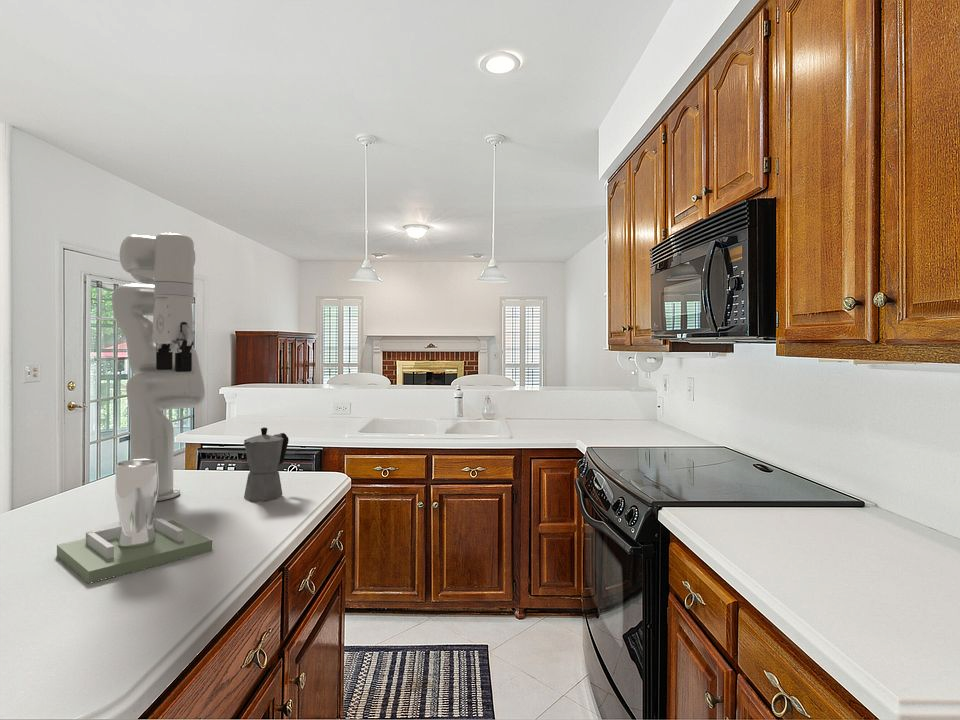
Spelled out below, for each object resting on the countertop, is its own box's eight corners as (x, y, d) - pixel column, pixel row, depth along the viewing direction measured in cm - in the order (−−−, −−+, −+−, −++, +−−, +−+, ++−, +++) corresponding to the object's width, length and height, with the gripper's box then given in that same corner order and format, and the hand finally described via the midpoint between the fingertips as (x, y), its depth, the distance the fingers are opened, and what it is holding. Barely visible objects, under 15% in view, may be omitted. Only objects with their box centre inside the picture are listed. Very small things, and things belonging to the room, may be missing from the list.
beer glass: (137, 550, 100) (138, 467, 100) (104, 546, 102) (105, 465, 101) (166, 537, 107) (167, 459, 107) (135, 534, 109) (136, 457, 108)
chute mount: (56, 555, 102) (56, 534, 102) (172, 529, 118) (172, 510, 118) (88, 583, 91) (88, 559, 91) (212, 550, 106) (212, 529, 106)
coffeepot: (259, 505, 136) (259, 432, 136) (229, 501, 140) (230, 429, 139) (301, 491, 150) (301, 424, 150) (273, 487, 154) (273, 422, 153)
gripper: (139, 292, 124) (139, 369, 124) (172, 288, 113) (172, 372, 113) (175, 295, 130) (174, 368, 130) (210, 291, 119) (209, 372, 119)
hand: (173, 370), depth 122 cm, fingers open, 9 cm apart
